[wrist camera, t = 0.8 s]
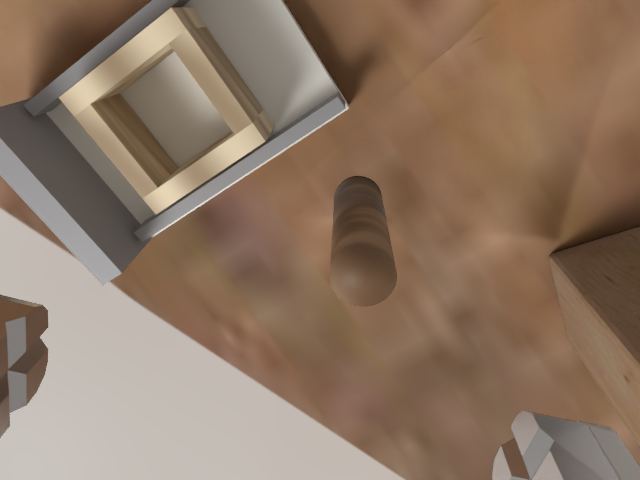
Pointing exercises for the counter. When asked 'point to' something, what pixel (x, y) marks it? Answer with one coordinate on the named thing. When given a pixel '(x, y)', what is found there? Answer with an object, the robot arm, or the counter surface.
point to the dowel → (361, 244)
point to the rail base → (161, 128)
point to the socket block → (130, 132)
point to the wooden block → (605, 315)
